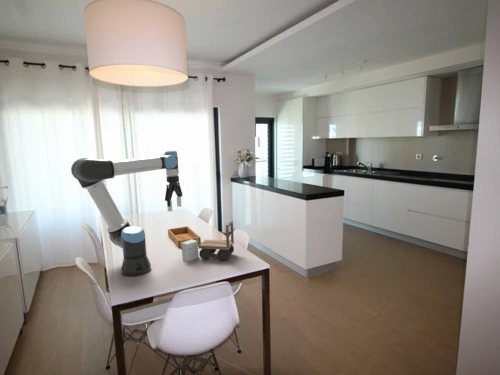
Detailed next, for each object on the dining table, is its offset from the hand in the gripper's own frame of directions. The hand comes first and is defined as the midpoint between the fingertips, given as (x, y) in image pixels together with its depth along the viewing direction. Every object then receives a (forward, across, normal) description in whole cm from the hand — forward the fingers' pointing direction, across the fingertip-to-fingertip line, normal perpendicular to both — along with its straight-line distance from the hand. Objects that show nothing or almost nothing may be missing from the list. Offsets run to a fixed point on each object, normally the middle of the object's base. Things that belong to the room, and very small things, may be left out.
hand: (174, 208), depth 197 cm
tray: (+27, +19, +4) cm, 34 cm away
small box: (+27, -15, -15) cm, 34 cm away
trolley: (+27, -10, -30) cm, 41 cm away
